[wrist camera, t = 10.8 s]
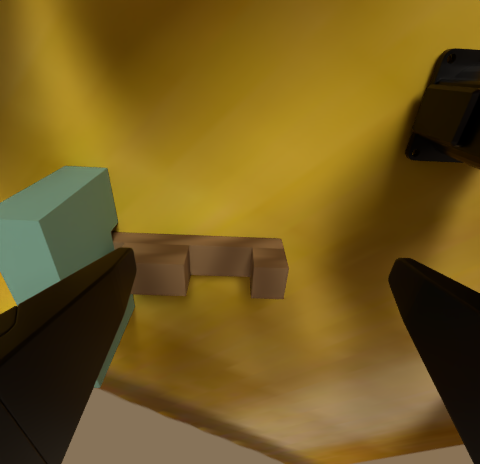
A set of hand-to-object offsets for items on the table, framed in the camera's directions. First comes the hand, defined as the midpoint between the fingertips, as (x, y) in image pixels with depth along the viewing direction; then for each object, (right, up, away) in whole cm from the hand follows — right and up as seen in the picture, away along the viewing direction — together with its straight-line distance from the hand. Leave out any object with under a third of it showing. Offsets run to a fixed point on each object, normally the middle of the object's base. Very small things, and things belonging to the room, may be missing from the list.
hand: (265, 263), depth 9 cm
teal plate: (-12, 0, +14) cm, 19 cm away
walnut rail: (-7, 0, +14) cm, 16 cm away
